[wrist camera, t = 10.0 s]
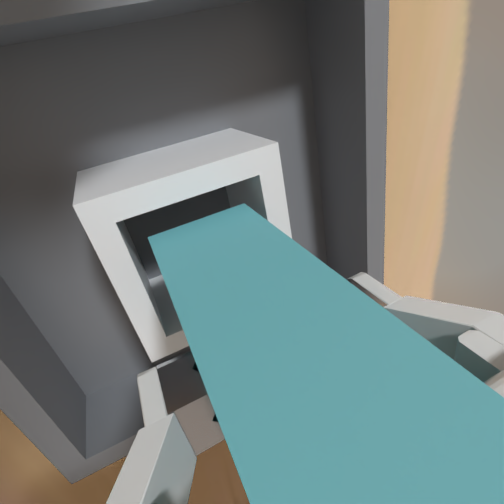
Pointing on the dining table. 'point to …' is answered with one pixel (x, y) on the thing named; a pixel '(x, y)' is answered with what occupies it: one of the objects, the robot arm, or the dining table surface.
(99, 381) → the inlet box
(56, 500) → the dining table surface
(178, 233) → the connector peg
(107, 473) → the dining table surface
